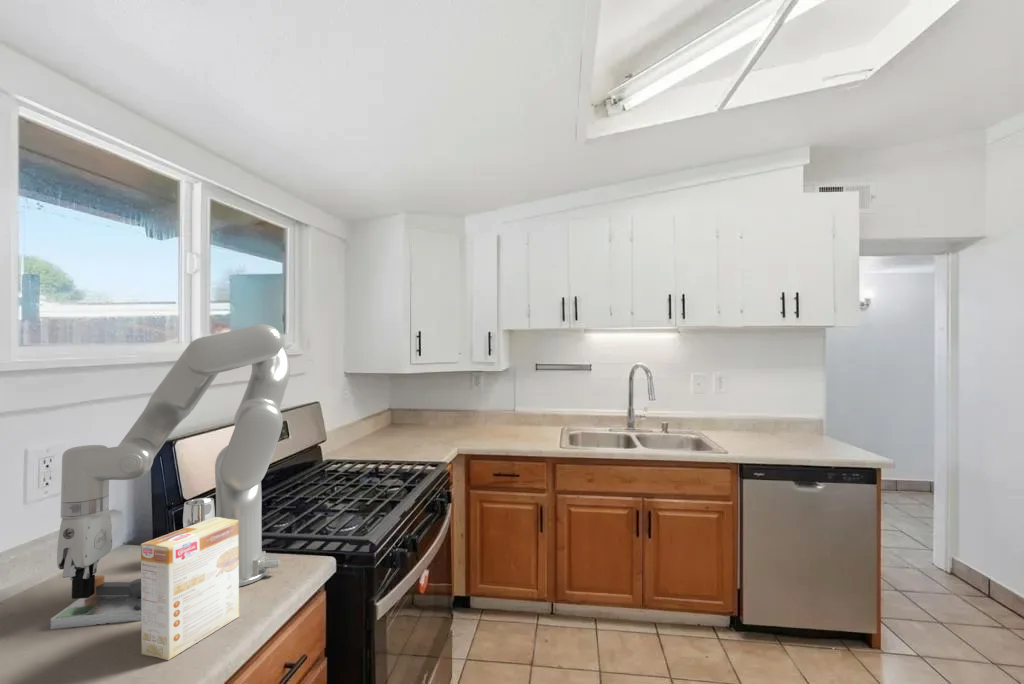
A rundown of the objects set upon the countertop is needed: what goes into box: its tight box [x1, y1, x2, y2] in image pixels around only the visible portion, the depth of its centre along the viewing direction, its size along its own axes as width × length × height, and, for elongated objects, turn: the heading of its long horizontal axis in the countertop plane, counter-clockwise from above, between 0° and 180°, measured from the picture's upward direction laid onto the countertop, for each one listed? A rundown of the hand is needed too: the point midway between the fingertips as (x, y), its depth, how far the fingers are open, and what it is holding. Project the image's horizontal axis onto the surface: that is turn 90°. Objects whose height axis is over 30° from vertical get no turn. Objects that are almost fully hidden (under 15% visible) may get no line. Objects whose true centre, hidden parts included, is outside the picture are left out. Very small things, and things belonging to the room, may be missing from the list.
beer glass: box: [182, 497, 216, 528], centre depth 128 cm, size 7×7×15 cm
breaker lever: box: [91, 574, 141, 597], centre depth 105 cm, size 13×4×3 cm, turn 88°
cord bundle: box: [134, 601, 141, 611], centre depth 105 cm, size 4×17×3 cm, turn 10°
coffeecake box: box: [140, 516, 240, 661], centre depth 93 cm, size 15×7×20 cm, turn 162°
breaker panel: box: [50, 595, 141, 630], centre depth 104 cm, size 16×14×2 cm
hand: (83, 596), depth 102 cm, fingers closed
